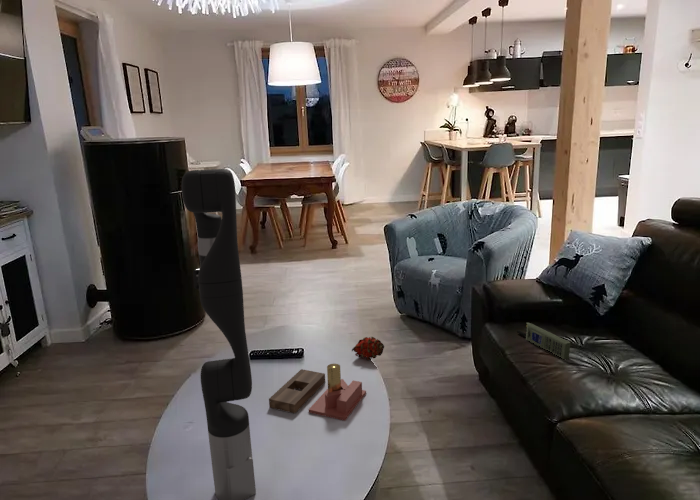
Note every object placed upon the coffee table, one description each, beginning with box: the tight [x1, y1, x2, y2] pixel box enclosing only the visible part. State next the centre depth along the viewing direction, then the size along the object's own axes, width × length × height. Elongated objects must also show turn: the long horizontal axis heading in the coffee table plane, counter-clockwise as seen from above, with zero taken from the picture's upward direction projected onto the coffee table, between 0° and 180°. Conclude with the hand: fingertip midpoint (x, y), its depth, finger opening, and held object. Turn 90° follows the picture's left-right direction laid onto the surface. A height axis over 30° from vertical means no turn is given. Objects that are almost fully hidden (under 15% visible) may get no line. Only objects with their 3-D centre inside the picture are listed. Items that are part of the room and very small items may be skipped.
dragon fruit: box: [351, 336, 385, 361], centre depth 181 cm, size 8×8×12 cm
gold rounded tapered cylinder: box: [326, 363, 342, 393], centre depth 152 cm, size 4×4×11 cm
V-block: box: [308, 378, 367, 422], centre depth 153 cm, size 12×16×5 cm
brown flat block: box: [268, 368, 326, 414], centre depth 159 cm, size 9×20×3 cm, turn 156°
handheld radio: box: [516, 322, 571, 360], centre depth 186 cm, size 7×3×25 cm
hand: (217, 304), depth 146 cm, fingers open, 8 cm apart
